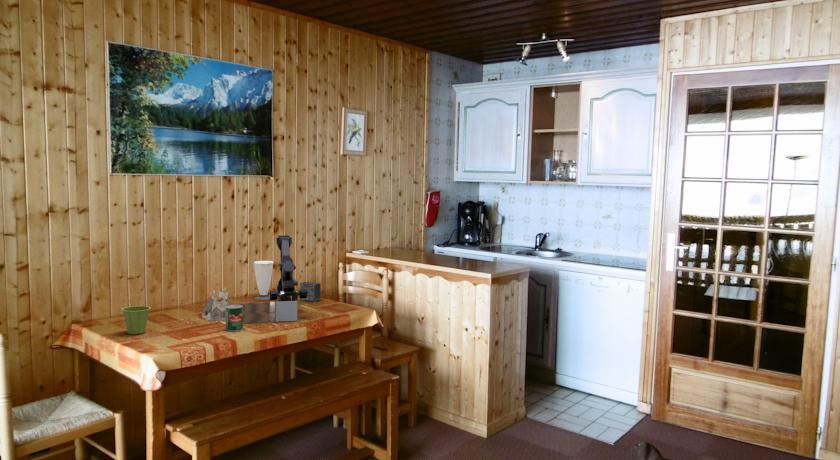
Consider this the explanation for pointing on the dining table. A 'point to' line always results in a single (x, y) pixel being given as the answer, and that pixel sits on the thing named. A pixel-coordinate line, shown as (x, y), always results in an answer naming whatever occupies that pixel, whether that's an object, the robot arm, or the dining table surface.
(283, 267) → the robot arm
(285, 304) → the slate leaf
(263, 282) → the cup
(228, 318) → the canned tomato
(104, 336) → the dining table surface
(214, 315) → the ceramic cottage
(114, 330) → the dining table surface
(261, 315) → the walnut leaf
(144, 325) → the plant pot
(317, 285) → the small box
